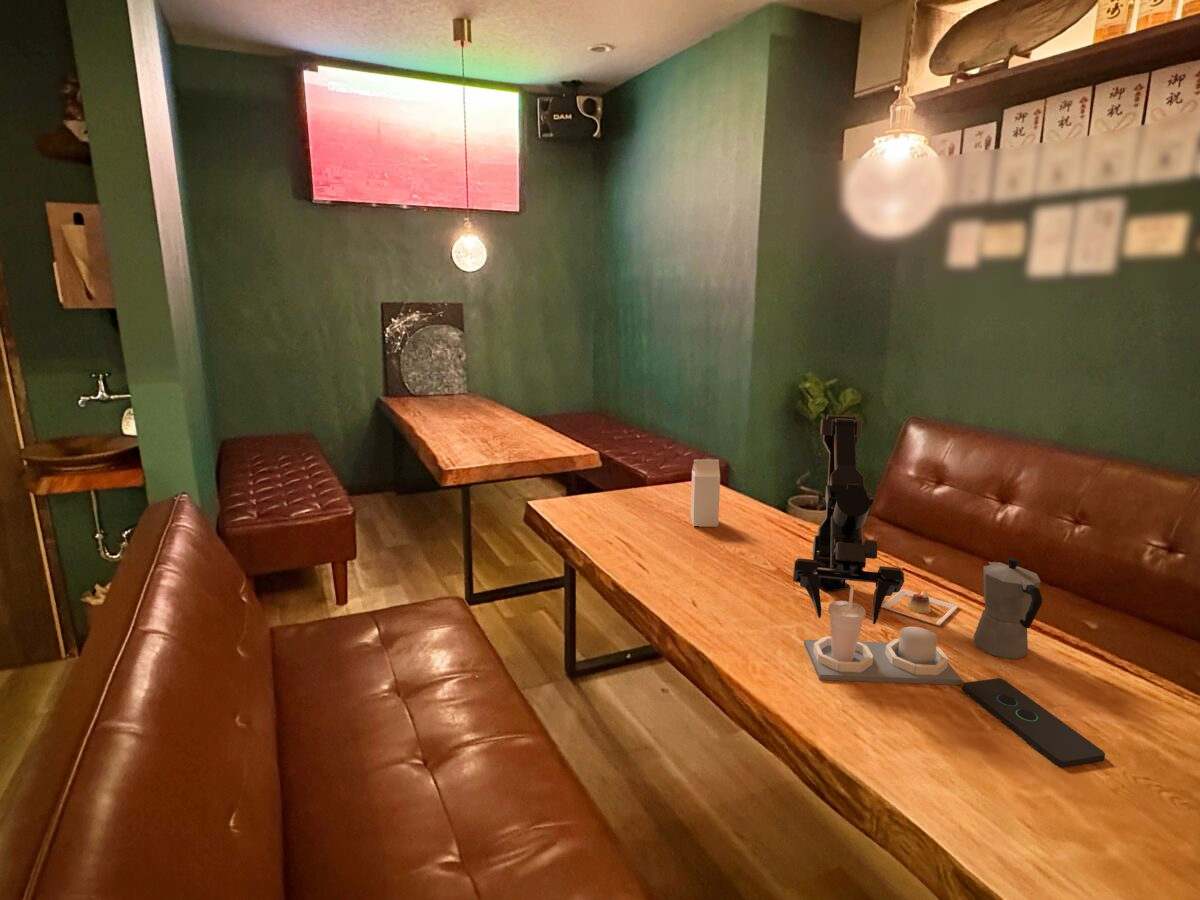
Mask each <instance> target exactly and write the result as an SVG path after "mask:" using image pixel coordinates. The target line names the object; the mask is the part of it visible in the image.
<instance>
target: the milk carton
mask: <svg viewBox="0 0 1200 900" xmlns="http://www.w3.org/2000/svg"><path fill="white" fill-rule="evenodd" d="M690 487H691V492H690V494H691V496H690V521H691V524H692V526H693V527H694V526H699V527H700V528H703V527H707V528H710V527H712V528H715V527H716V528H717V527H719V518H720V517H719V515H720V492H721V491H720V489H721V470H720V460H719V459H693V465H692V469H691V486H690ZM699 527H698V528H699Z"/></svg>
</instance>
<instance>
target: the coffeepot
mask: <svg viewBox="0 0 1200 900" xmlns="http://www.w3.org/2000/svg"><path fill="white" fill-rule="evenodd" d="M1007 560H1008V564H1005V563H1003V562H1000V561H992V562H991V561H988V564H989V565H984V566H983V567H982V568H983V572H982V573H983V599H984V604H985V606H984V610H982V613H981V616H980V619H979V621H978V622H977V623H978V624H977V627H976V629H975V631H974V635H973V640H974V644H975V646H976V648H979V650H981V651H983V652H984V653H987V654H989V655H992V656H994V657H998V658H1001V659H1009V660H1015V659H1016V660H1017V659H1023V658H1024V657H1026V656H1028V655H1029V645H1028V644H1029V643H1028V641H1029V640H1028V629H1029V628H1031V626H1032V624H1033V622H1034V620H1035V618H1036V617H1037V615H1038V611H1039V610H1040V609H1041V606H1042V605H1043V596H1042V594H1041V590H1040V588H1039V587H1040V585H1041V580H1040V577H1039V576H1038V574H1037V573H1036V572H1034V571H1030V570H1028V569H1026V568H1023V567H1020V566H1017V565H1019V560H1018V559H1017V558H1012V557H1009V558H1008V559H1007Z"/></svg>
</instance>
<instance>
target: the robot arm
mask: <svg viewBox="0 0 1200 900" xmlns="http://www.w3.org/2000/svg"><path fill="white" fill-rule="evenodd" d="M862 427H863V420H857V418H856V416H855V415H843V414H842V415H841V414H840V415H839V414H827V415H826V418H822V419H820V427H819V428H820V431H819V432H820V433H819V434H820V435H822V444H823V445H824V447H825V449H826V452H827V453H828V455H829V456H828V468H827V469H828V470H827V484H826V486H825V503H826V508H825V517H824V519H823V521H822V522H821V523H820V525H819V526H818V528H817V534H815V535H814V537H813V543H812V559H810V558H798V557H797V558H796V559H795V561H794V564H793V574H792V575H793V577H792V581H793V582H795V583H797V584H799V585H800V587H801V588H805V590H806V591H807V593H808V595H809V597H810V599H811V602H812V604H813V606H814V610H815V613H816V615H817V618H818V619H821V618H822V605H821V604H822V603H821V594H820V593H821V592H820V589H822V590H824V591H826V592H832V591H837V590H842V589H843V590H844V589H849V588H850V587H851V585H850V584H849V583H847V582H846V581H854V582H861V583H873V584H875V590H874V593H873V601H872V612H871V613H872V614H871V618H872V619H871V620H872V625H876V623H877V620H878V618H879V615H880V611H881V609H882V607H881V606H882V605H883V604H884V601H885V598H886V597H892V595H893V594H894V593H895V594H896V593H898V592H899V591H900V590H901V589H902V586H903V585H904V583H905V572H904V571H903V570H902V568H901V567H895V566H893V567H892V566H883V565H880V566H879V567H878V570H877V571H865V570H864V569H865V568H866V563H867V562H866V561H867V559H872V560H876V559H877V558H878V541H877V540H871V539H866V540H863V538H864V537H863V534H864V533H863V532H864V531H863V526H864V525H865V522H866V520H867V517H868V514H869V511H870V507H871V506H873V503H874V497H873V496H872V494H871V492H869V489H868V487H865V486H866V485H865V484H866V483H865V477H864V475H863V474H862V473H861V472H860V471H859V470H858V468H857V467H858V466H857V449H856V447H857V446H856V444H857V442H858V438H861V437H862ZM863 541H864V542H863Z"/></svg>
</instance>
